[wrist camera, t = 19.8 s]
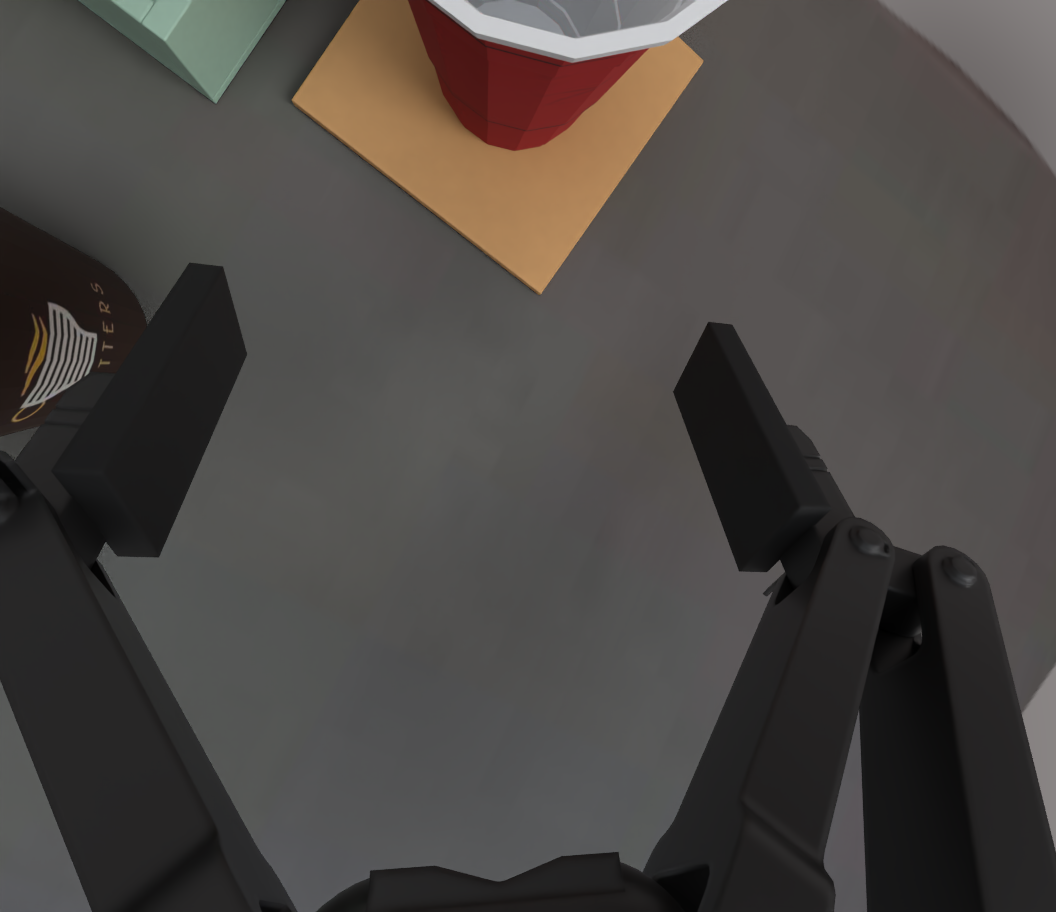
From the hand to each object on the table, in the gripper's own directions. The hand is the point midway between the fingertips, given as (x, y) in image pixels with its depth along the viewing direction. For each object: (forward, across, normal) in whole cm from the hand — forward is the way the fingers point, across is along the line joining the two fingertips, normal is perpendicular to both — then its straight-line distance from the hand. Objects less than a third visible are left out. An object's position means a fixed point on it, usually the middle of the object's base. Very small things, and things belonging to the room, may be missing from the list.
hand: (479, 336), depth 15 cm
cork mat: (+13, +1, +3) cm, 14 cm away
